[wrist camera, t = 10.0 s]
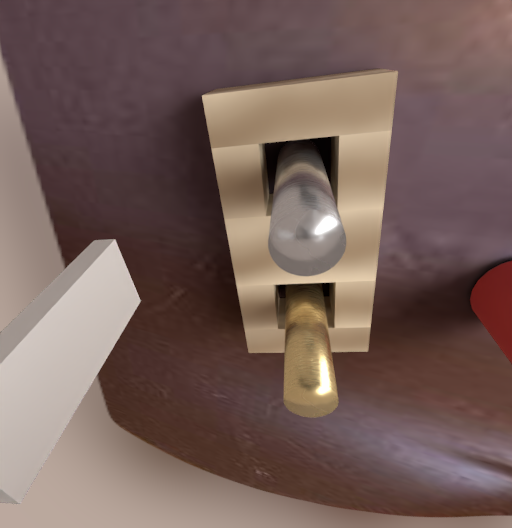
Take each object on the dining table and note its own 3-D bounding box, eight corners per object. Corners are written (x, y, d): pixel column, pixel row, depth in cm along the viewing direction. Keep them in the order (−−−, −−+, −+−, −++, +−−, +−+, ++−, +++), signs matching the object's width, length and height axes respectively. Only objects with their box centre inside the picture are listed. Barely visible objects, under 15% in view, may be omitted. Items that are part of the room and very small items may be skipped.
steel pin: (276, 139, 22) (264, 210, 12) (321, 136, 21) (348, 206, 11) (278, 182, 23) (270, 277, 13) (320, 180, 23) (344, 275, 13)
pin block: (216, 89, 20) (201, 95, 17) (379, 68, 19) (398, 71, 16) (253, 320, 31) (248, 352, 28) (359, 318, 30) (367, 351, 26)
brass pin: (284, 263, 27) (281, 384, 17) (320, 261, 27) (339, 384, 17) (287, 291, 29) (285, 416, 19) (320, 289, 28) (337, 417, 18)
